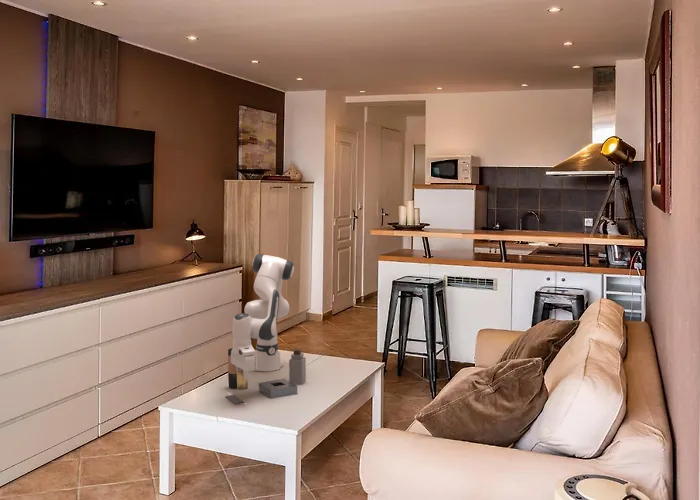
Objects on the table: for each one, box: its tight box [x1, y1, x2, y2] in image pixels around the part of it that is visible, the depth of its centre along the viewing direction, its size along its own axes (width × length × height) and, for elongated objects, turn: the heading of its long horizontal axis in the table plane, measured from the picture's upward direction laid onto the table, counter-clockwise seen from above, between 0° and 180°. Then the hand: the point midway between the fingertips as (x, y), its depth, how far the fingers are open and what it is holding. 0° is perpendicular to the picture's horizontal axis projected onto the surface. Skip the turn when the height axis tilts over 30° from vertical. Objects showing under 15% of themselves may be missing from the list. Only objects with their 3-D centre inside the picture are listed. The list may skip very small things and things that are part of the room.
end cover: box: [236, 371, 249, 391], centre depth 318 cm, size 5×5×8 cm
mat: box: [224, 394, 246, 405], centre depth 319 cm, size 12×12×1 cm
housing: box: [258, 378, 298, 399], centre depth 326 cm, size 14×14×5 cm
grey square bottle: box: [288, 348, 307, 386], centre depth 343 cm, size 7×7×18 cm
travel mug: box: [227, 347, 243, 390], centre depth 334 cm, size 8×8×20 cm
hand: (242, 376), depth 318 cm, fingers closed on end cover, 5 cm apart
